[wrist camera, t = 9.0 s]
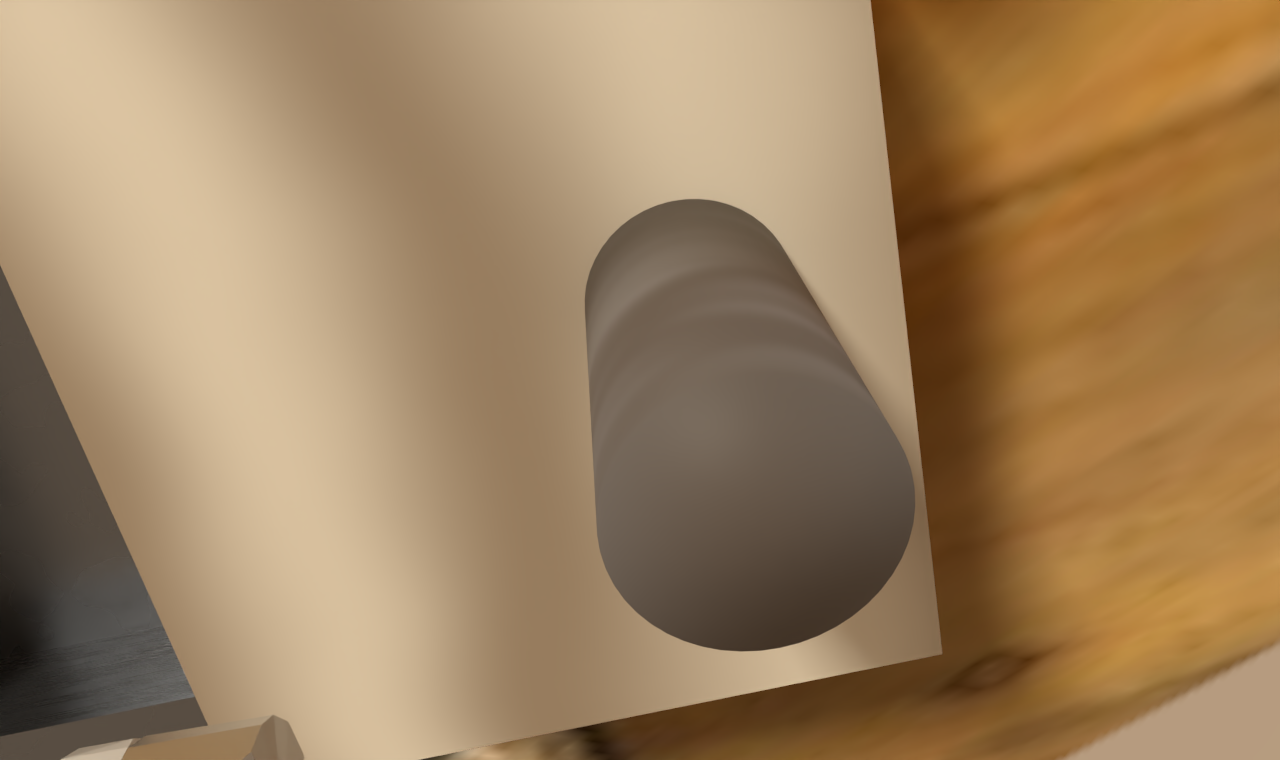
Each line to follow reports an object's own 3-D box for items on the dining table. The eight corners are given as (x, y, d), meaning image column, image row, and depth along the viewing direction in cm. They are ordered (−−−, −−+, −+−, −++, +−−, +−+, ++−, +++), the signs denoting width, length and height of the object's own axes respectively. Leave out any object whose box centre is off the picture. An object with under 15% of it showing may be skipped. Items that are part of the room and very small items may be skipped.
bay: (731, -369, 20) (795, -463, 14) (854, 505, 27) (927, 664, 22) (-475, -101, 20) (-854, -93, 15) (-37, 688, 28) (-185, 887, 22)
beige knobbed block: (749, -250, 20) (1038, -446, 8) (849, 459, 25) (1102, 971, 13) (69, -100, 20) (-660, -67, 8) (318, 568, 26) (108, 1165, 14)
